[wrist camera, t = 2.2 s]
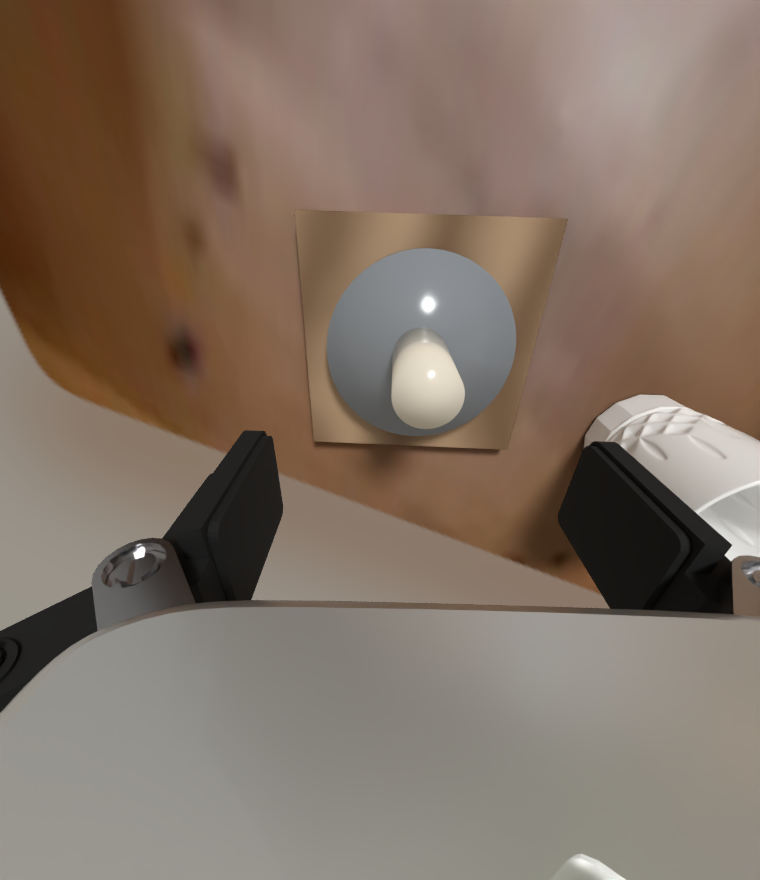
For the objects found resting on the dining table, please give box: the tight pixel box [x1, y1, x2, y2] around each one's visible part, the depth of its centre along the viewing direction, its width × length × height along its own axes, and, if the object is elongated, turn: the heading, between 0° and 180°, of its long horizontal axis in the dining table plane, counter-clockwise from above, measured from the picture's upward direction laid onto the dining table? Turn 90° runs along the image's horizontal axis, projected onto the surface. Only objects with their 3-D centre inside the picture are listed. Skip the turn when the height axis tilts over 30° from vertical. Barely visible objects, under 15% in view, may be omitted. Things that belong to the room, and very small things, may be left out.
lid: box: [327, 248, 516, 436], centre depth 18 cm, size 11×11×7 cm
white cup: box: [584, 395, 760, 561], centre depth 21 cm, size 8×8×10 cm
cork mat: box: [295, 210, 568, 450], centre depth 22 cm, size 14×14×1 cm
